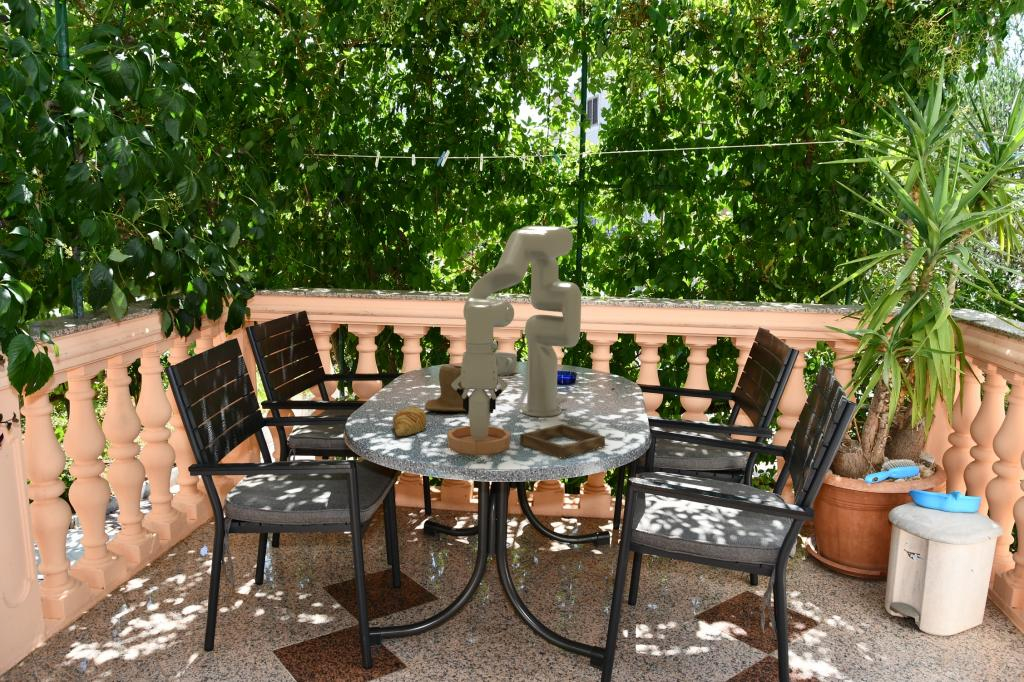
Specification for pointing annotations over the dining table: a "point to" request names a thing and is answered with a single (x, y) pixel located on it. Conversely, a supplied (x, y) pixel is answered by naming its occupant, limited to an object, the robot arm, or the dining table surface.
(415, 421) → the croissant
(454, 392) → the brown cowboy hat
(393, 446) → the dining table surface
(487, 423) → the faceted bottle
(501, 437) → the terracotta dish
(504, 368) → the teacup
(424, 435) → the dining table surface
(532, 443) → the square wooden frame
